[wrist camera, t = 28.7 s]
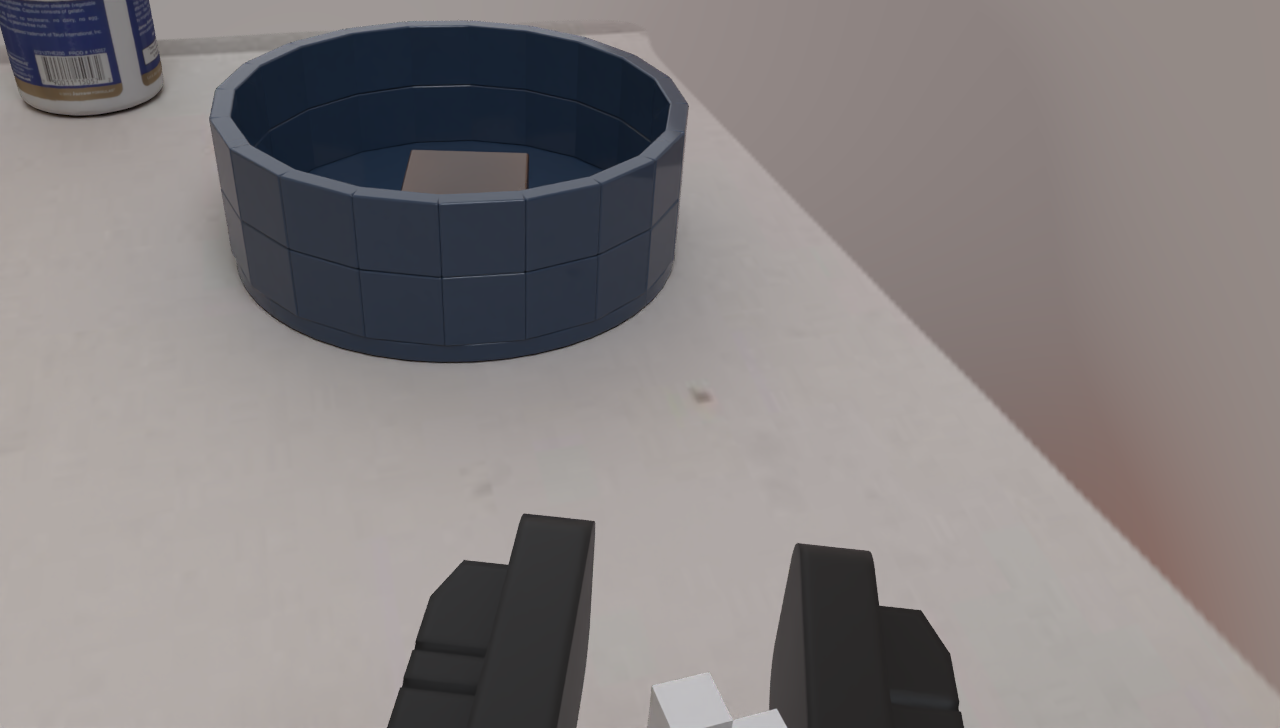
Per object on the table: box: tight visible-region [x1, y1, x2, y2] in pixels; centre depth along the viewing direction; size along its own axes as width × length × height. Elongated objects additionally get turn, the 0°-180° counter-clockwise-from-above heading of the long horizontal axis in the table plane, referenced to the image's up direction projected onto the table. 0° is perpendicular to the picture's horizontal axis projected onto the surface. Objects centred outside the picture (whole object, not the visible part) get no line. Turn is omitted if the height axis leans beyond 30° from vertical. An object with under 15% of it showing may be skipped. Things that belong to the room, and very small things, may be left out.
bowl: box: [209, 21, 689, 362], centre depth 36 cm, size 14×14×5 cm
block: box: [401, 150, 529, 194], centre depth 33 cm, size 4×4×4 cm
